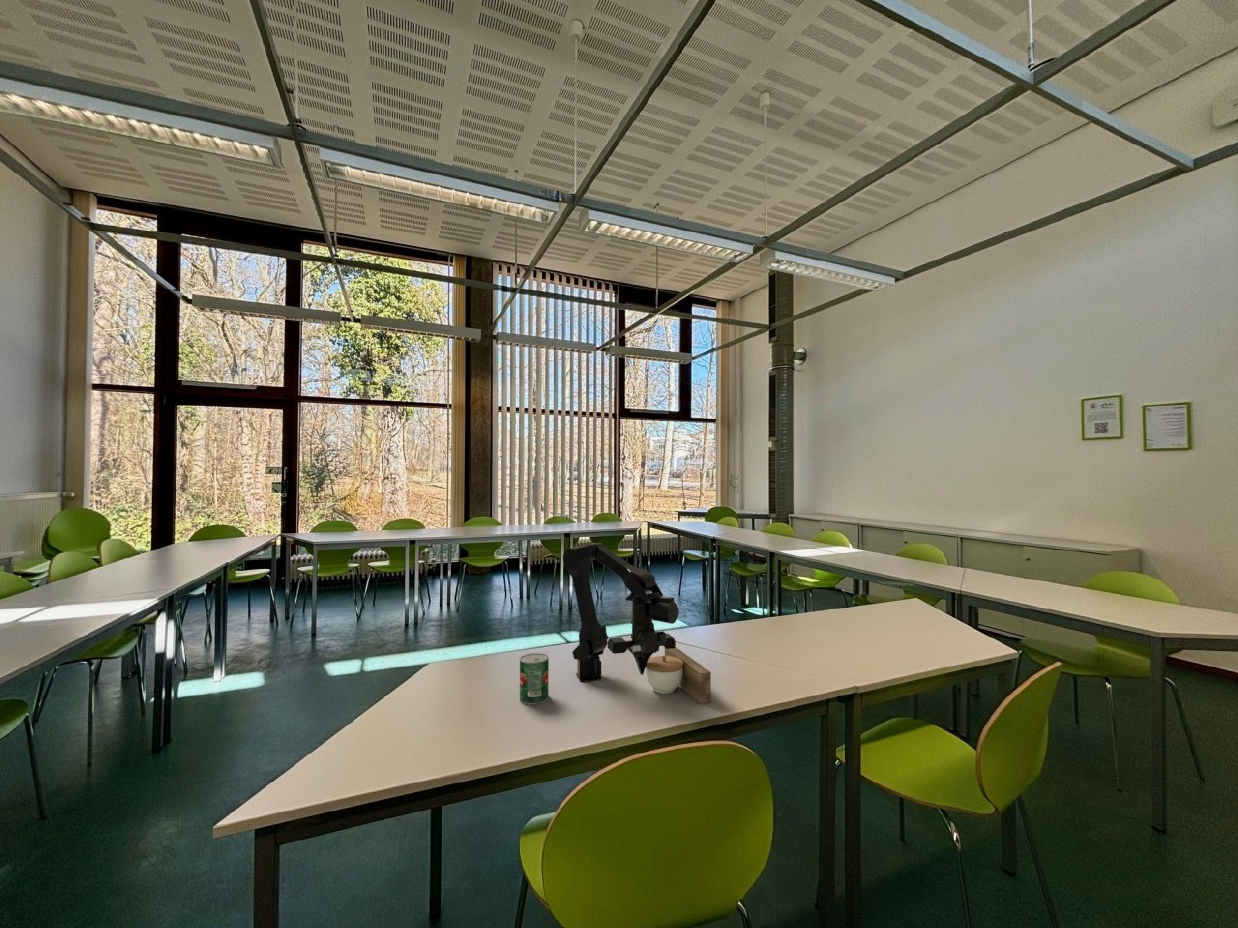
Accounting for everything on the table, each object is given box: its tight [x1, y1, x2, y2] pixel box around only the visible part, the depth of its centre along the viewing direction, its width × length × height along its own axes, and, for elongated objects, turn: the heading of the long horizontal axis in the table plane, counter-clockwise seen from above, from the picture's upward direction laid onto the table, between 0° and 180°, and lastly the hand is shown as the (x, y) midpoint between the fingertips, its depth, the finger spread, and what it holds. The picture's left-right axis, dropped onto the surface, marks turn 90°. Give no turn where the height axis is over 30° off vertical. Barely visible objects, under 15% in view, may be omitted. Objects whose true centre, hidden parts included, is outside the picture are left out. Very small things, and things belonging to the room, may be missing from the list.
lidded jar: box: [645, 654, 683, 695], centre depth 143 cm, size 11×11×9 cm
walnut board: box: [664, 647, 712, 705], centre depth 145 cm, size 3×24×8 cm, turn 18°
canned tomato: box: [519, 652, 550, 705], centre depth 138 cm, size 8×8×11 cm
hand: (641, 674), depth 141 cm, fingers closed
